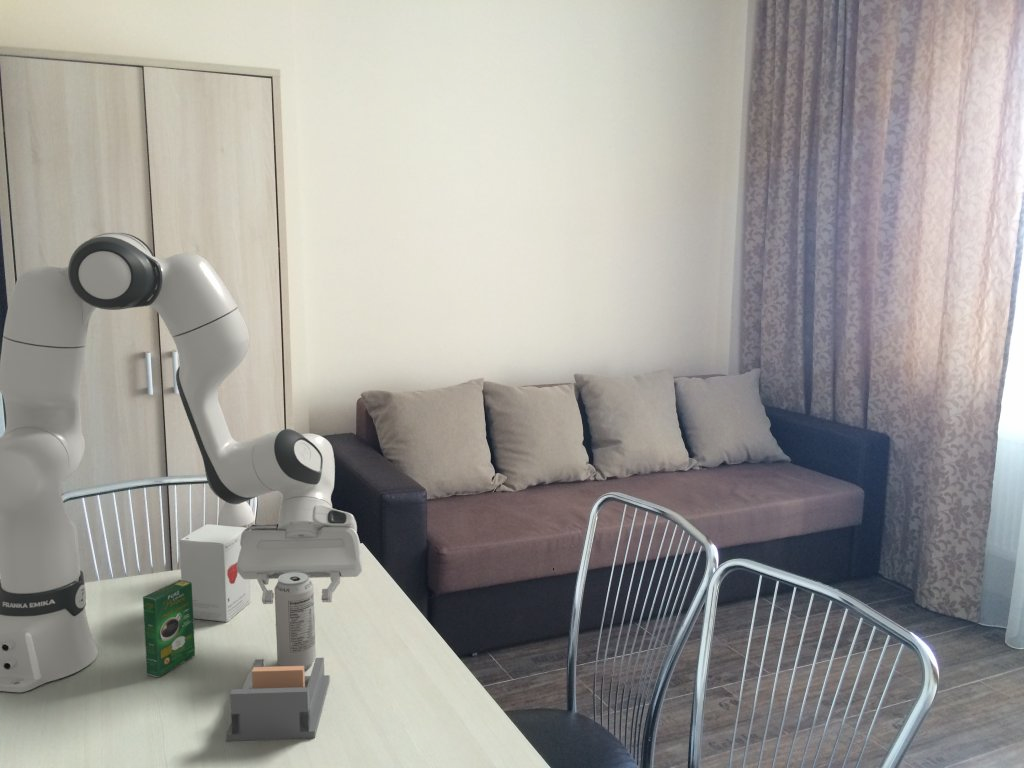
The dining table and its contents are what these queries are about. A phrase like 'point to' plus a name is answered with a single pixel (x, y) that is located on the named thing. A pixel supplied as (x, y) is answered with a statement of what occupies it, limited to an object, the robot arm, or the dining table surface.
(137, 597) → the dining table surface
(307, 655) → the energy drink can
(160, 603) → the coffee box
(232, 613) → the supplement box
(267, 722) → the pusher lane
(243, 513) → the bath foam
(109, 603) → the dining table surface
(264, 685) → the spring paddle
